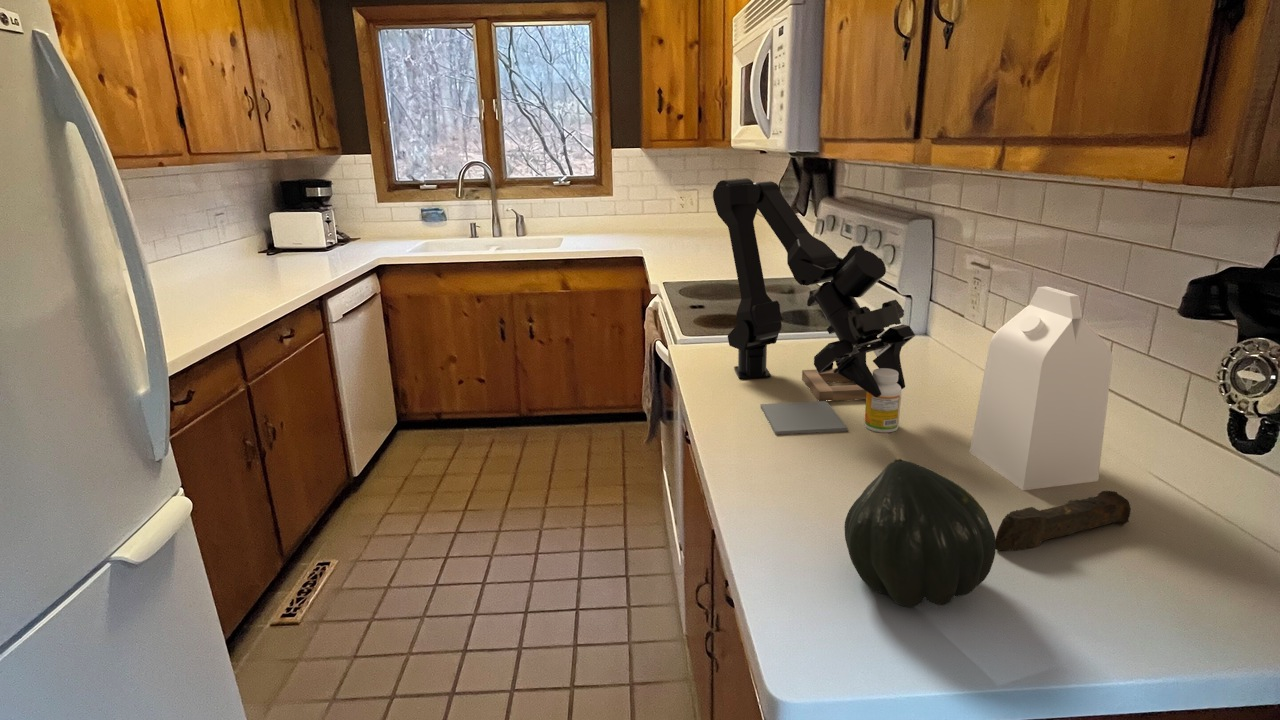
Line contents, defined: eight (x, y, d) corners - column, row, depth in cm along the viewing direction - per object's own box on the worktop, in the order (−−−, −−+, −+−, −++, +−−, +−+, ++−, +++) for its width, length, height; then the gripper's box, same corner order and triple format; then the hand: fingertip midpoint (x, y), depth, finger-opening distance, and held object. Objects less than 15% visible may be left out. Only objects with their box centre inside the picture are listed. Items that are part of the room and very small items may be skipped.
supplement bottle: (870, 417, 119) (874, 364, 116) (902, 424, 116) (907, 369, 113) (859, 429, 115) (863, 373, 112) (892, 436, 112) (897, 379, 109)
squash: (1039, 592, 66) (990, 440, 72) (885, 611, 65) (849, 456, 71) (972, 603, 79) (935, 474, 85) (843, 618, 78) (815, 487, 84)
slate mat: (760, 407, 126) (760, 404, 126) (826, 403, 126) (826, 400, 126) (775, 434, 114) (775, 431, 114) (847, 431, 115) (847, 427, 115)
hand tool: (1100, 512, 89) (1106, 480, 88) (1129, 528, 85) (1136, 494, 84) (977, 541, 84) (981, 507, 83) (1002, 559, 81) (1007, 524, 79)
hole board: (801, 379, 138) (802, 370, 138) (861, 376, 139) (862, 367, 138) (819, 402, 127) (819, 391, 126) (883, 398, 127) (884, 388, 127)
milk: (1098, 480, 96) (1133, 297, 88) (1022, 490, 95) (1051, 304, 86) (1037, 444, 108) (1063, 279, 99) (969, 452, 106) (990, 285, 98)
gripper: (830, 294, 107) (882, 381, 102) (910, 277, 116) (962, 356, 111) (792, 332, 116) (839, 413, 111) (870, 313, 125) (916, 388, 120)
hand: (891, 392), depth 113 cm, fingers closed on supplement bottle, 5 cm apart
